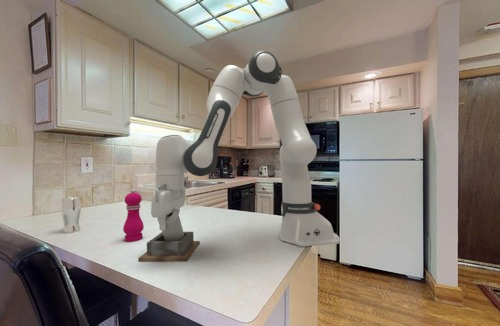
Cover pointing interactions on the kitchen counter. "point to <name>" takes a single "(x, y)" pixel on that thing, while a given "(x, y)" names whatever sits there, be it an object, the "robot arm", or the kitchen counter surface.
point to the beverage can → (173, 227)
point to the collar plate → (169, 249)
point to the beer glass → (71, 214)
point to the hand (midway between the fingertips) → (169, 225)
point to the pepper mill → (133, 217)
